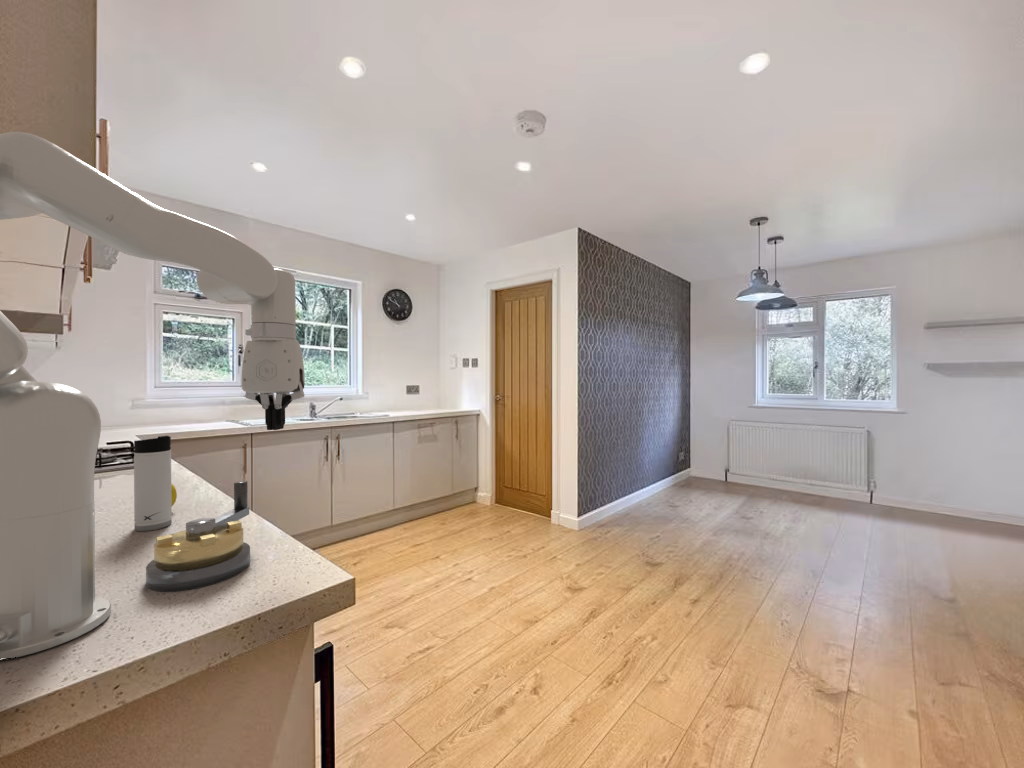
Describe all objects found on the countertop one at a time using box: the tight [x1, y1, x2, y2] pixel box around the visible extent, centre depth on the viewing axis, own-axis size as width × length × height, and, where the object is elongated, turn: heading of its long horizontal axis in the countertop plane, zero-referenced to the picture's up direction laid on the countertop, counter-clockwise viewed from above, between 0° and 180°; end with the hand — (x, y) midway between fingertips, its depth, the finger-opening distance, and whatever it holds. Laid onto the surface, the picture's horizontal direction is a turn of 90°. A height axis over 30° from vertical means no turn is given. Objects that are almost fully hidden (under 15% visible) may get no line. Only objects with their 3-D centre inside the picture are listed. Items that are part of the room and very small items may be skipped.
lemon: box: [171, 483, 178, 507], centre depth 103 cm, size 6×6×8 cm
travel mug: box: [133, 435, 173, 532], centre depth 94 cm, size 6×7×20 cm
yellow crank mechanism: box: [153, 480, 250, 570], centre depth 74 cm, size 18×12×10 cm, turn 2°
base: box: [145, 541, 251, 593], centre depth 71 cm, size 14×14×2 cm
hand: (275, 429), depth 83 cm, fingers closed
